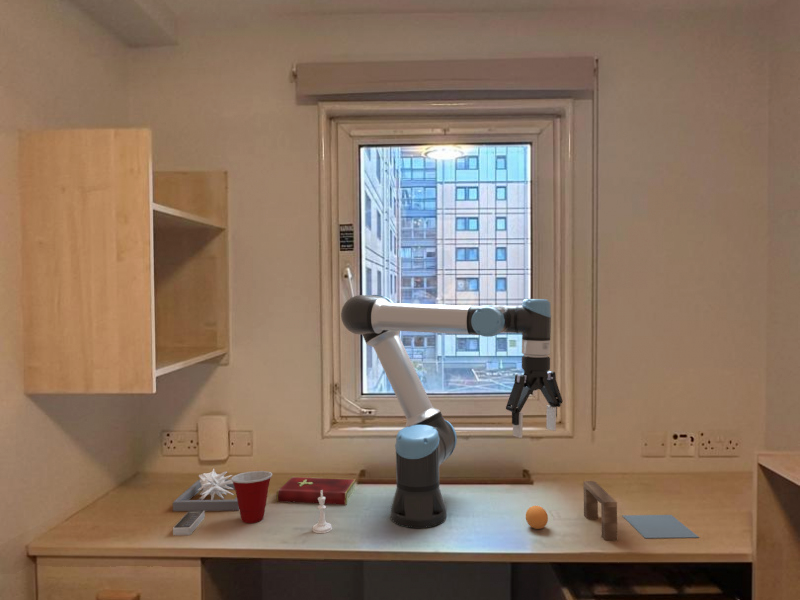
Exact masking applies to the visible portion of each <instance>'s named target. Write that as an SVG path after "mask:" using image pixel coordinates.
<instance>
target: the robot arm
mask: <svg viewBox="0 0 800 600" xmlns="http://www.w3.org/2000/svg"><path fill="white" fill-rule="evenodd" d="M551 308H552V307H551V302H550V300H548V299H545V298H544V299H543V298H542V299H541V298H525V299H523V300H522V304H521V305H498V304H497V305H495V304H489V305H459V304H457V305H455V304H454V305H453V304H452V305H451V304H430V303H429V304H425V303H422V304H421V303H398V302H397V303H394V302H393V300H391V299H390V298H388V297H386V296H383V295H381V294H371V295H370V294H369V295H367V294H365V295H364V294H359V295H355V296H352V297H350V298H348V299H347V301H346V302H345V303H343V306H342V307H341V313H340V316H341V322H342V324H343V326H344V328H346V330H347V331H348V332H351V333H352V334H354V335H358V336H359V335H360V336H361V335H362V337H363V340H364V341H365V343H366V345H367V346H370V347H371V348H373V349H374V352H375V354H376V356H377V358H378V360H379V361H380V364H381V366H382V369H383V370H384V371H383V372H384V373H385V375H386V377H387V379H388V382H389V384H390V386H391V388H392V390H393V392H394V394H395V397H396V399H397V402H398V403H399V405H400V408H401V410H402V412H403V414H404V416H405V418H406V423H405V426H404V427H403V428H402V429H400V430H399V431H398V432H397V434H396V437H395V444H394V445H395V446H394V447H395V464H396V465H395V468H396V469H395V471H396V488H395V492H394V496H393V498H392V503H391V505H390V519H391V521H392V522H393V523H395V524H397V525H398V526H400V527H406V528H412V529H423V528H432V527H436V526H438V525H440V524H442V523H444V522H445V521H446V519H447V507H446V504H445V503H446V502H445V500H444V497H443V493H442V492H441V488H440V466H441V465H442V464H443V463H444V462H445V461H446V460H448V459H449V457H451V455H453V453H454V451H455V448H456V446H457V442H458V438H457V437H458V436H457V432H456V429H455V427H454V426H453V424H451V422H450V421H449V420H446V419H445V417H444V416H443V414H442V412H441V410H440V409H438V408H436V407H434V406H433V404H432V402H431V400H430V398H429V397H428V393H427V392H426V390H425V388H424V386H423V384H422V382H421V379H420V377H419V375H418V373H417V371H416V369H415V367H414V365H413V362H412V360H411V358H410V355H409V354H408V352H407V350H406V348H405V345H404V343H403V342H402V339H401V337H400V333H401V332H413V333H415V332H416V333H435V334H437V333H438V334H458V335H459V334H460V335H473V336H481V337H488V338H489V337H494V336H497V335H498V334H502V333H505V334H507V333H510V334H512V333H513V334H521V336H522V337H521V354H522V356H521V369H522V370H523V374H518V373H517V374H515V375H514V383H513V386H512V388H511V392H510V394H509V396H508V397H509V398H508V400H507V402H506V406H505V409H506V411H509V412H511V424H512V436H514V437H516V438H519V439H522V438H523V427H524V426H523V425H524V424H523V422H524V421H523V420H524V418H523V417H524V415H523V414H524V413H523V412H521V411H522V409H523V408H524V406H525V404H526V402H527V400H528V398H529V397H530V395H531V394H532V393H533V392H534V391H538V390H539V391H540V392H541V394H542V395H543V397H544V398H545V400H546V402H547V405H546V427H545V428H546V429H547V430H550V431H553V432H554V431H557V416H558V414H557V413H558V408H561V405H562V404H563V398H562V394H561V392H560V389H559V385H558V382H557V378H556V372H555V371H553V370H552V371H550V370H551V357H550V356H549V355H550V354H551V335H552V334H551V329H552V328H551V326H552V314H551V311H552V310H551Z"/></svg>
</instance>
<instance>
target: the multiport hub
mask: <svg viewBox="0 0 800 600" xmlns="http://www.w3.org/2000/svg"><path fill="white" fill-rule="evenodd" d="M205 512H206V511H186V514H184V515H183V516H182V517H181V519H180V520H179V521H178V522H177V523H176V524H174V526H173V527H172V535H173V536H174V535H175V536H191V535H192V533H193V532H194V531H195V530H196V529H197V528H198V526H200V524H201V523H202V521H204V519H205V518H206V517H205V515H206V514H205Z"/></svg>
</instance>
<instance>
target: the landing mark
mask: <svg viewBox="0 0 800 600" xmlns="http://www.w3.org/2000/svg"><path fill="white" fill-rule="evenodd" d="M622 518H624V519H625V520H626V521H627V522H628V523H629V524H630V525H631V526H632V527H633V528H634V530H636V531H637V532H638V533H639V535H641V536H642V537H643V538H644V539H694V538H695V539H699V538H700V537H699V536H698V535H697V534H696V533H695V532H694V531H692V530H691V529H690V528H689V527H687V526H686V525H685V524H683V523H682V522H681V521H680V520H678V519H677V518H676V517H675V516H673V515H672V514H642V515H641V514H639V515H638V514H628V515H627V514H626V515H622Z"/></svg>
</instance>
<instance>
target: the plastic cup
mask: <svg viewBox="0 0 800 600" xmlns="http://www.w3.org/2000/svg"><path fill="white" fill-rule="evenodd" d="M272 477H273V473H272V472H271V471H266V470H255V471H254V470H253V471H246V472H241V473H238V474H235V475H232V476H231V478H230V479H231V480H232V481H233V484H234V487H235V489H234V490H235V495H236V497H237V501H238V506H239V510H238V511H239V515H240V519H241V521H242V522H243V523H244V524H255V523H259V522H261V521H262V520H264V516H265V512H266V511H265V510H266V506H267V498H268V495H269V494H268V493H269V488H270V487H269V486H270V482H271V479H272Z"/></svg>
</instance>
